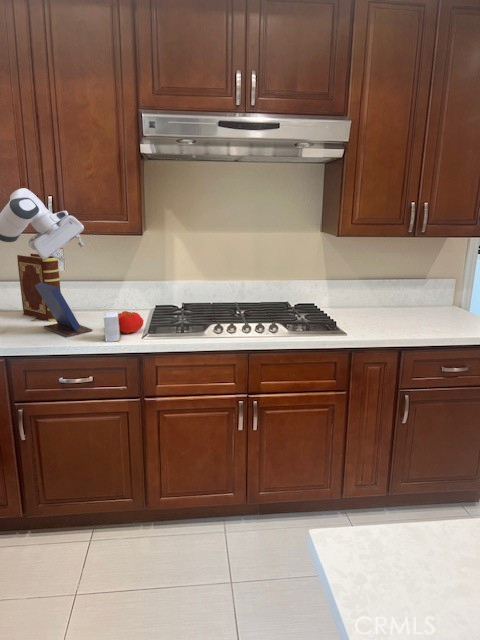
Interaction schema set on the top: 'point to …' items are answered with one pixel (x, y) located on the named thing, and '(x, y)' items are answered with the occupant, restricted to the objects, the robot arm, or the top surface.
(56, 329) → the brown flat board
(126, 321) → the tomato
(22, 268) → the decorative book
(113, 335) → the small box
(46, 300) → the book
